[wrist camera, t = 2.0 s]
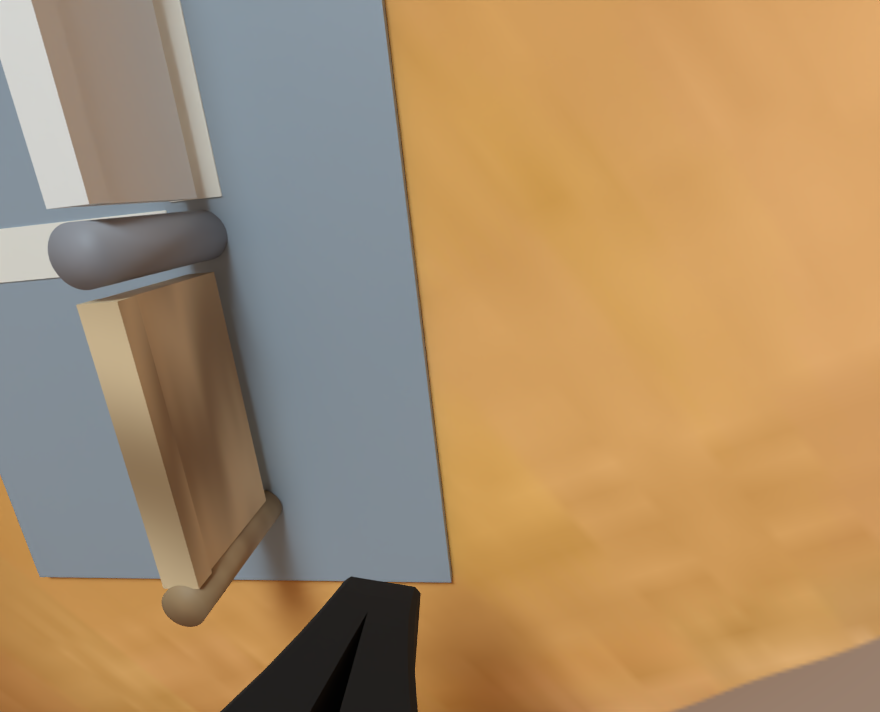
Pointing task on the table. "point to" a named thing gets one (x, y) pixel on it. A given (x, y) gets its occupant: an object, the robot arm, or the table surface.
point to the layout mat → (247, 306)
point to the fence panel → (182, 434)
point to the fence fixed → (104, 136)
